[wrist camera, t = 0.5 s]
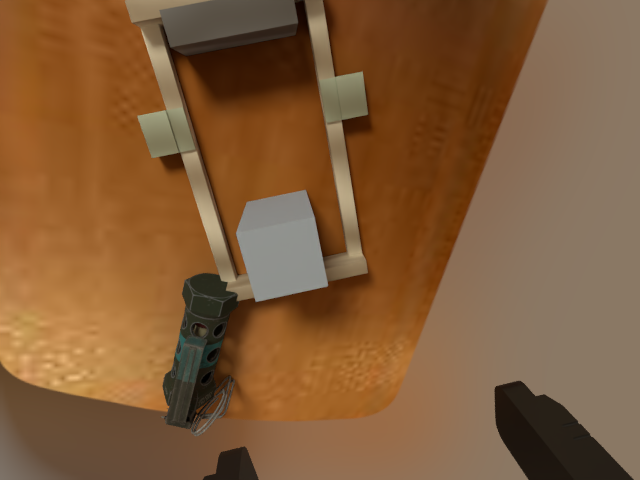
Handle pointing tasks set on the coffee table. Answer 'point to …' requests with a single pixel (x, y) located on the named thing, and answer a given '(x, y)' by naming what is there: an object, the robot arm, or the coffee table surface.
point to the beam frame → (174, 123)
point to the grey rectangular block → (281, 246)
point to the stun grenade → (199, 353)
